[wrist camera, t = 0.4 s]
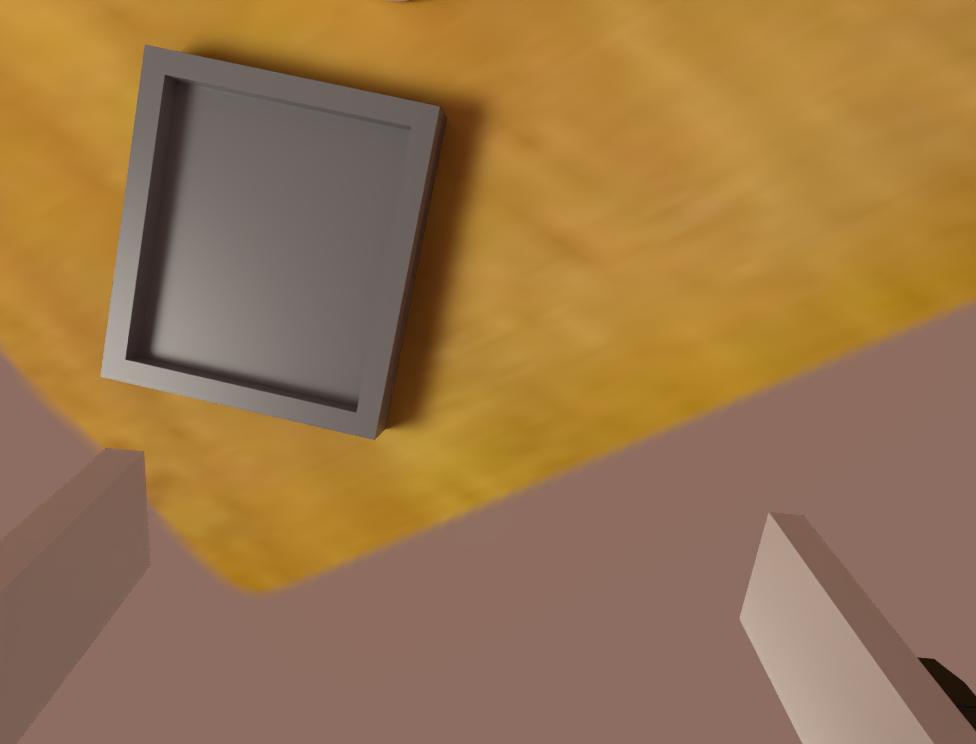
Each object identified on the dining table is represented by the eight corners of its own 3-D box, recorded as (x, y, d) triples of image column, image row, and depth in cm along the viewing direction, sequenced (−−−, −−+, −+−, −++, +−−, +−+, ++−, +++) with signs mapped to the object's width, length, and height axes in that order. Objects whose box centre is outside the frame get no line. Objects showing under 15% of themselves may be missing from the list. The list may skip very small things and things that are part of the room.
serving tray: (170, 59, 38) (145, 44, 35) (446, 117, 37) (439, 106, 35) (127, 370, 40) (100, 376, 38) (384, 429, 40) (374, 439, 37)
